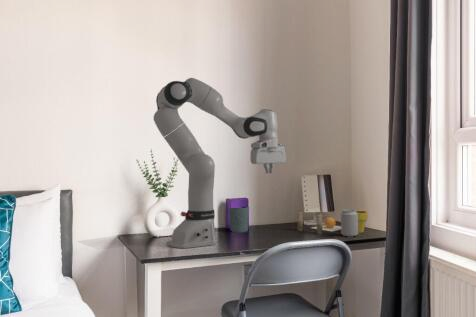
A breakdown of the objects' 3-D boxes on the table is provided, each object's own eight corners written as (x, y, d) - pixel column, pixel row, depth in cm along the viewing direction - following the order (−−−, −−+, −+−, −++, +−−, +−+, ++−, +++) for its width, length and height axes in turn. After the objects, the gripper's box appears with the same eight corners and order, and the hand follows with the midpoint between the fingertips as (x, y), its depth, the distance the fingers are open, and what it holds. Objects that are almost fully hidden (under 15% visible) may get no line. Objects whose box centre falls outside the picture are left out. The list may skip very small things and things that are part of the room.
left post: (300, 230, 231) (300, 212, 230) (296, 230, 233) (296, 212, 232) (303, 230, 232) (303, 212, 232) (299, 229, 234) (299, 211, 234)
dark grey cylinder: (231, 233, 228) (230, 208, 227) (227, 229, 238) (227, 206, 237) (251, 232, 230) (251, 207, 230) (246, 228, 240) (246, 205, 239)
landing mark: (331, 231, 227) (331, 231, 227) (309, 228, 238) (309, 227, 238) (349, 228, 236) (349, 227, 236) (327, 224, 247) (327, 224, 247)
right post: (319, 234, 221) (319, 215, 221) (315, 233, 223) (315, 214, 223) (323, 233, 222) (323, 214, 222) (319, 232, 224) (319, 214, 224)
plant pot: (370, 233, 221) (370, 212, 221) (348, 233, 221) (348, 213, 221) (365, 229, 231) (364, 209, 231) (343, 229, 231) (343, 210, 231)
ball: (338, 227, 236) (331, 229, 233) (329, 226, 241) (322, 228, 237) (337, 217, 236) (330, 218, 233) (328, 216, 240) (321, 217, 237)
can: (358, 237, 212) (358, 210, 211) (341, 237, 213) (341, 210, 213) (357, 234, 219) (357, 208, 219) (341, 234, 220) (340, 208, 220)
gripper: (279, 144, 231) (280, 172, 231) (248, 144, 218) (248, 174, 218) (288, 143, 226) (289, 172, 226) (257, 143, 213) (257, 174, 213)
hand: (269, 173), depth 222 cm, fingers closed
